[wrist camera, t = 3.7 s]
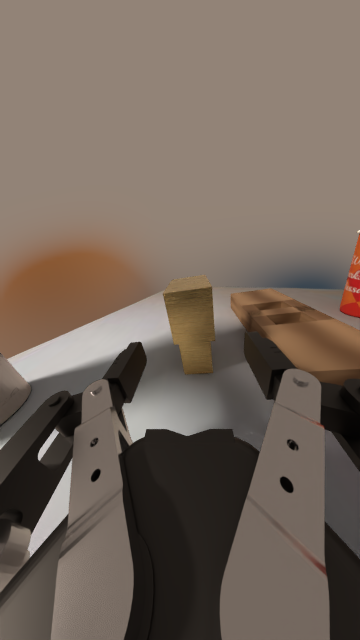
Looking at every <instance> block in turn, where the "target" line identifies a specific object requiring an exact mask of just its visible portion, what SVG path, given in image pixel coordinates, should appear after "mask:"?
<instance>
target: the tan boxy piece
mask: <svg viewBox="0 0 360 640" xmlns="http://www.w3.org/2000/svg"><path fill="white" fill-rule="evenodd" d="M163 296H164V301H165V305H166V310H167V314H168V319H169V323H170V328H171V333H172V337H173V342H174V345H175V344H179V348H180V353H181V358H182V363H183V368H184V373H185V374H201V373H213V368H212V355H211V343H210V341H215V330H214V314H213V297H212V286H211V284H210V283H209V281H208V279H207V278H206V276H205V275H201V276H195V277H187V278H181V279H175V280H172V281H171V282H170V284H169V285H168V287H167V288H166V290H165V291H164V293H163Z"/></svg>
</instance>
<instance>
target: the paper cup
mask: <svg viewBox="0 0 360 640" xmlns="http://www.w3.org/2000/svg"><path fill="white" fill-rule="evenodd" d="M358 232H360V230H358ZM340 311H341V312H342V313H344V314H347V315H350V316H354V317H359V318H360V234H359V237H358V241H357V245H356V248H355V253H354V256H353V260H352V264H351V267H350V271H349V274H348V278H347V282H346V285H345V289H344V293H343V297H342V301H341V305H340Z"/></svg>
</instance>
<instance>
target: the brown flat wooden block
mask: <svg viewBox="0 0 360 640" xmlns="http://www.w3.org/2000/svg"><path fill="white" fill-rule="evenodd" d="M231 308H232V310H233V311H234V313H235V314H236V316H237V317H238V318H239V320H240V321H241V323H242V324H243V326H244V327H245V328H246V330H247V331H248V332H255V331H257V332H258V333H259V334H260V335H261V337H262V338H268V339H269V340H271V341H273V342H274V343H275V344H276V345H277V346H278V348H279V349H280V350H281V351H282V352H283V353H284V354H285V355H286V356H287V358H288V359H289V360H290V361H291V362H292V363H293V364H294V365H295V367H296V368H297V369H299V370H303V371H306V372H308V373H310V374H311V375H313V376H314V377H316V378H317V379H318V381H321V382H325V383H331V384H337V385H342V386H343V384H344V382H345V380H347V379H360V330H357V329H355V328H353V327H351V326H349V325H347V324H345V323H343V322H341V321H338V320H336V319H334V318H332V317H330V316H328V315H326V314H324V313H322V312H319V311H317V310H315V309H313V308H311V307H309V306H307V305H305V304H303V303H301V302H298V301H296V300H294V299H292V298H290V297H288V296H286V295H284V294H282V293H279V292H277V291H275V290H273V289H264V290H256V291H249V292H241V293H234V294H231Z"/></svg>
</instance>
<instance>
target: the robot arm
mask: <svg viewBox="0 0 360 640" xmlns="http://www.w3.org/2000/svg"><path fill="white" fill-rule="evenodd" d="M244 354H245V357H246V360H247V362H248V364H249V366H250V368H251V369H252V371H253V373H254V375H255V377H256V379H257V381H258V383H259V385H260V387H261V389H262V391H263V393H264V395H265V397H266V399H267V400H271V399H274V401H275V402H274V405H273V409H272V412H271V416H270V419H269V423H268V426H267V430H266V433H265V436H264V440H263V443H262V447H261V450H260V452H259V451H258V450H257V449H256V448H254V447H253V446H252V445H250V444H249V443H247V442H245V441H243V440H241V439H239V438H236V437H234V435H233V431H232V429H209V430H206V431H203V432H199V433H196V434H193V435H190V436H185V435H182V434H179V433H176V432H173V431H170V430H167V429H146V433H145V437H143V438H141V439H139V440H137V441H135V442H134V443H133V442H132V439H131V437H130V433H129V430H128V426H127V422H126V418H125V415H124V411H123V408H122V406H123V404H124V403H131V401H132V398H133V396H134V393H135V391H136V388H137V386H138V383H139V381H140V378H141V376H142V373H143V371H144V368H145V366H146V362H147V358H146V355H145V352H144V349H143V346H142V343H141V342H134V343H130V344H129V346H128V347H127V349H125V350H124V351H122V352H121V353H120V354H119V355H118V357H117V358H116V360H115V361H114V363H113V364H112V365H111V367H110V368H109V370H108V371H107V373H106V374H105V375H104V377H103V378H102V379H101V380H97V381H95V382H93V383H92V384H90V385H89V386H88V387H87V388H86V389H85V391H84V392H82V393H79V394H76V395H73V396H71V395H70V393H69V392H68V391H61V392H58V393H56V394H54V395H53V396H51V397H50V398H48V399H47V400H46V401H45V402H44V403H43V404H42V405H41V406H40V407H39V408H38V410H37V411H36V412H35V413H34V414H33V415H32V416H31V417H30V418H29V419H28V420H27V421H26V423H25V424H24V425H23V426H22V427H21V428H20V429H19V430H18V431H17V432H16V433H15V435H14V436H13V437H12V438H11V439H10V440H9V441H8V442H7V443H6V444H5V445H4V446H3V448H2V449H1V450H0V640H360V559H359V558H358V557H357V556H356V554H355V553H354V552H353V551H352V550H351V549H350V548H349V547H348V546H347V545H346V544H345V543H344V542H343V540H342V539H341V538H340V537H339V536H338V535H337V534H336V533H335V532H334V531H333V530H332V529H331V528H330V526H329V525H328V524H327V523H326V522H325V521H324V510H325V430H329V431H331V432H332V433H333V435H334V436H335V438H336V439H337V441H338V442H339V443H340V445H341V446H342V448H343V449H344V450H345V452H346V453H347V455H348V456H349V457H350V459H351V460H352V462H353V463H354V464H355V466H356V467H357V469H358V470H359V472H360V379H347V380H345V382H344V384H343V386H342V385H337V384H331V383H325V382H321V381H318V379H317V378H316V377H314V376H313V375H311V374H310V373H308V372H306V371H303V370H299V369H297V368H296V367H295V365H294V364H293V363H292V362H291V361H290V360H289V359H288V358H287V356H286V355H285V354H284V353H283V352H282V351H281V350H280V349H279V348H278V346H277V345H276V344H275V343H274V342H273V341H271V340H269V339H268V338H262V337H261V335H260V334H259V333H258V332H257V331H255V332H246V333H245V338H244ZM30 392H31V386H30V385H29V384H28V383H27V382H26V381H25V379H24V378H23V377H22V376H21V375H20V374H19V373H18V372H17V371H16V370H15V368H14V367H13V366H12V365H11V364H10V363H9V362H8V360H7V359H6V358H5V357H4V356H3V355H2V354H1V353H0V425H1V424H2V423H3V422H4V421H5V420H7V419H8V418H9V417H10V416H11V415H13V414H14V413H15V412H16V411H17V410H18V409H19V408H20V407H21V405H22V404H23V403H24V402H25V401H26V399H27V398H28V396H29V394H30ZM54 429H56V430H57V431H58V432H59V434H58V435H57V436H56V438H55V439H54V441H53V442H52V444H51V445H50V447H49V448H48V450H47V451H46V453H45V454H44V456H43V457H42V458H41V460H40V461H39V460H38V453H39V450H40V449H41V447H42V446H43V444H44V443H45V441H46V440H47V439H48V437H49V436H50V434H51V433H52V432H53V430H54ZM72 457H73V459H72ZM71 459H72V473H71V487H70V501H69V514H68V515H67V516H66V517H65V518H64V519H63V521H62V522H61V523H60V524H59V525H58V526H57V527H56V529H55V530H54V531H53V532H52V533H51V534H50V536H49V537H48V538H47V539H46V540H45V541H44V542H43V544H42V545H41V546H40V547H39V548H38V549H37V550H36V552H35V553H34V554H33V555H32V556H31V557H30V552H29V551H28V547H29V543H30V538H31V534H32V532H33V530H34V528H35V527H36V525H37V523H38V521H39V519H40V517H41V515H42V514H43V512H44V510H45V508H46V506H47V504H48V502H49V500H50V499H51V497H52V495H53V493H54V491H55V489H56V487H57V485H58V484H59V482H60V480H61V478H62V476H63V474H64V472H65V470H66V469H67V467H68V465H69V463H70V461H71ZM29 557H30V558H29Z"/></svg>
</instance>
